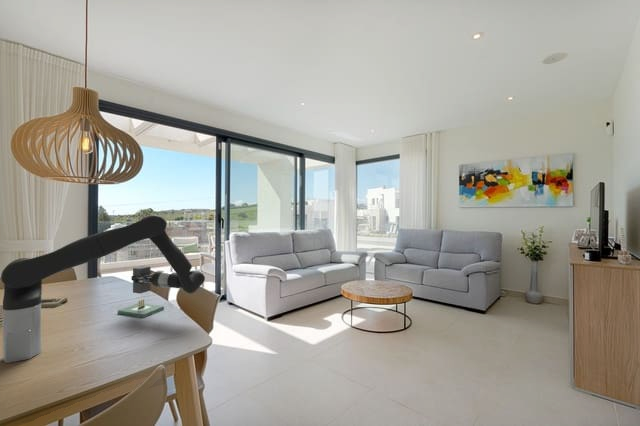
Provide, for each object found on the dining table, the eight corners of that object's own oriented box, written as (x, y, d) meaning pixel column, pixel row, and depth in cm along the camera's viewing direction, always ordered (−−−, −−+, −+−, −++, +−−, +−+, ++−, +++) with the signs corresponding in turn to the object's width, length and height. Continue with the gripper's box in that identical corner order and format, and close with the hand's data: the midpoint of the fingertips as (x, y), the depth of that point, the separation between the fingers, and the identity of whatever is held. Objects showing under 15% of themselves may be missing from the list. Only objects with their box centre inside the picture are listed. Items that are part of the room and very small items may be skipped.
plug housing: (150, 290, 146) (150, 266, 146) (140, 293, 141) (140, 268, 141) (142, 289, 148) (142, 266, 148) (132, 292, 142) (132, 268, 142)
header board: (164, 309, 148) (164, 298, 148) (143, 317, 137) (143, 305, 136) (139, 305, 153) (139, 295, 152) (117, 313, 141) (117, 302, 141)
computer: (21, 309, 146) (21, 302, 146) (34, 304, 154) (34, 297, 154) (56, 307, 149) (56, 301, 149) (67, 302, 157) (67, 296, 157)
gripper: (176, 268, 147) (149, 266, 152) (152, 274, 133) (124, 272, 138) (176, 283, 147) (149, 280, 152) (152, 291, 133) (124, 287, 138)
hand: (137, 276), depth 145 cm, fingers closed on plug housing, 5 cm apart
